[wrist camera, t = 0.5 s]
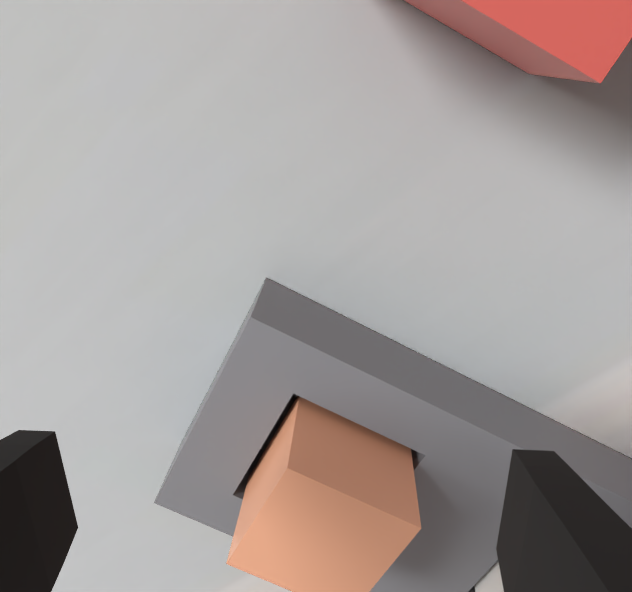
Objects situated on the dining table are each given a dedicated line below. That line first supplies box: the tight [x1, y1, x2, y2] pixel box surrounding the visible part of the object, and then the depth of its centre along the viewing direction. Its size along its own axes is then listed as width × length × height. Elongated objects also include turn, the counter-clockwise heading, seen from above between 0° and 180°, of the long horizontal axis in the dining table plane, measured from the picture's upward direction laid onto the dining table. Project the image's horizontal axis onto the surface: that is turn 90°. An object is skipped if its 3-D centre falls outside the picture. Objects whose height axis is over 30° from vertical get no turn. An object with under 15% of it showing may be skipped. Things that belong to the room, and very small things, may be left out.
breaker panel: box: [154, 278, 632, 592], centre depth 20 cm, size 18×8×3 cm, turn 63°
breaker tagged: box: [226, 396, 421, 592], centre depth 17 cm, size 4×4×4 cm
